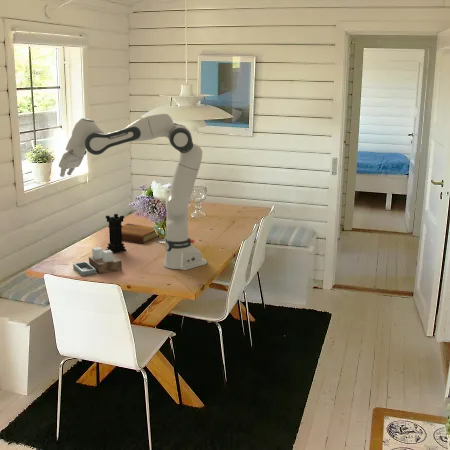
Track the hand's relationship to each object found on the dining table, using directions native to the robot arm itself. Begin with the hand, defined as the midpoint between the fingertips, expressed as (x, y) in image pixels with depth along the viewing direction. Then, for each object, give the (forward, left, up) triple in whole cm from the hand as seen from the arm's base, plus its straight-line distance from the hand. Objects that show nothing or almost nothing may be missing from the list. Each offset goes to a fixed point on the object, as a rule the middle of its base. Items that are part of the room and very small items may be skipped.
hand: (65, 175), depth 287 cm
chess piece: (-31, -15, -48) cm, 59 cm away
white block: (-12, +6, -42) cm, 45 cm away
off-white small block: (-15, +13, -42) cm, 47 cm away
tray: (-4, +9, -47) cm, 48 cm away
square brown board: (-15, +10, -47) cm, 51 cm away
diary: (-51, -34, -48) cm, 78 cm away
